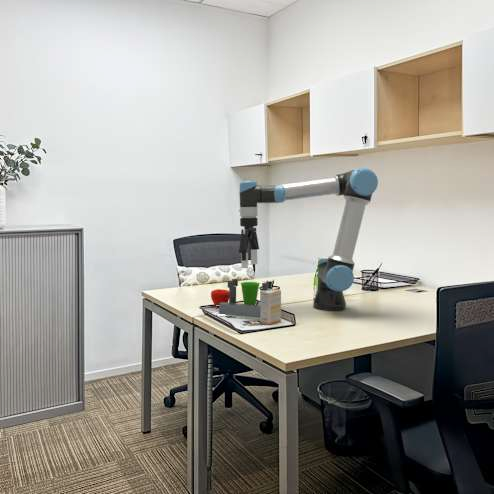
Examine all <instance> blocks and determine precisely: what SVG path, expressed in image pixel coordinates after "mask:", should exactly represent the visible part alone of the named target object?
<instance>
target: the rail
mask: <svg viewBox="0 0 494 494" xmlns="http://www.w3.org/2000/svg"><path fill="white" fill-rule="evenodd" d="M218 313H219V314H225V315H235V316H246V317H257V318H260V317H261V304H256V305H250V304H244V303H237V302H236V303H229V302H228V303H226V302H221V303H219V307H218Z"/></svg>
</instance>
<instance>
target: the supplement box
mask: <svg viewBox="0 0 494 494" xmlns="http://www.w3.org/2000/svg"><path fill="white" fill-rule="evenodd" d="M269 289H270V288H269ZM260 305H261V317H260V319H261V320H259V321H260V324H263V325H268V326H269V325H272V324H276V323H279V322H281V320H282V289H277V288H276V289H275V288H271V289H270V290H266V291H263V290H261V291H260Z"/></svg>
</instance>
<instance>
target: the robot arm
mask: <svg viewBox="0 0 494 494" xmlns="http://www.w3.org/2000/svg"><path fill="white" fill-rule="evenodd" d="M378 185H379V180H378V176H377V175H376V172H374V171H373V170H372V169H370V168H367V167H359V168H356V169H352V170H349V171H346V172H344V173H340V174H334V175H333V176H332V177H327V178H325V177H324V178H320V179H313V180H304V181H297V182H292V183H291V182H290V183H283V184H274V185H273V184H271V185H267V184H266V185H258V182H257V181H256V180H241V181H240V183H239V193H238V194H239V210H238V211H239V216H240V217H241V218H239V223H240V224H239V225H240V227H241V228H242V227H244V228H242V229H240V230H241V232H240V233H241V234H240V242H239V250H238V253H239V254H240V256H241V258H240V260H241V261H240V262H241V265H240V266H241V267H240V268H241V269H248V268H249V253H248V249H249V245H250V247H251V249H250V265H258V250H260V245H259V241H258V240H259V239H258V234H257V226H258V218H257V217H258V215H259V214H258V213H259V212H258V204H270V203H271V204H280V203H284V202H286V201H293V200H299V199H305V198H307V199H308V198H314V197H322V196H329V195H335V196H337V197H340V196H343V198H344V200H345V204H344V207H343V212H342V217H341V221H340V224H339V227H338V233H337V236H336V241H335V244H334V248H333V251H332V254H331V255H330V256H328V258H319V259H318V262H317V291H316V293H315V296H314V299H313V302H312V303H313V304H312V307H313V308H314V309H317V310H323V311H342V310H343V311H344V310H345V309H346V308H347V302H346V299H345V295H344V291H347V290H348V289H350V288H351V286H352V285H353V284H354V280H355V276H354V273H353V272H354V269H355V265H356V264H355V261H354V260H353V258H354V253H355V249H356V247H357V246H356V245H357V241H358V238H359V237H358V236H359V234H360V233H359V232H360V229H361V224H362V221H363V217H364V214H365V211H366V210H365V209H366V205H367V206H368V204H370V203H371V200H372V198H373V194H374V193H375V191H376V190H377V188H378Z"/></svg>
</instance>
